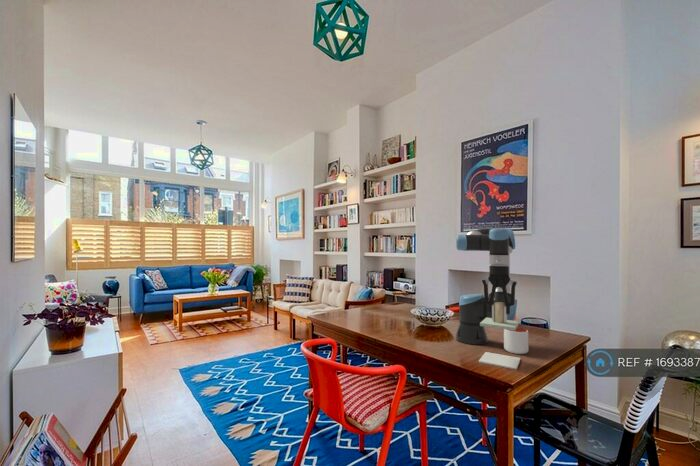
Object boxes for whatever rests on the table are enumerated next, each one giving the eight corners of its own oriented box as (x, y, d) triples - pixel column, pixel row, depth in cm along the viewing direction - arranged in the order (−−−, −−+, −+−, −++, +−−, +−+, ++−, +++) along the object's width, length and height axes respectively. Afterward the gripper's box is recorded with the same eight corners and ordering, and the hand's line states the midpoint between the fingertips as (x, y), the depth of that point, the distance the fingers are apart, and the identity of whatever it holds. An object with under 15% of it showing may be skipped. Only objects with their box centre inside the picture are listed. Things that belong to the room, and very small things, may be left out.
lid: (479, 325, 135) (479, 303, 135) (486, 320, 145) (486, 299, 146) (514, 330, 127) (514, 307, 128) (518, 324, 138) (518, 302, 139)
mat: (478, 362, 134) (478, 360, 134) (485, 353, 146) (485, 351, 146) (516, 369, 126) (516, 368, 126) (520, 359, 138) (520, 358, 138)
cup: (499, 348, 153) (499, 326, 154) (519, 347, 154) (519, 326, 155) (511, 355, 143) (511, 332, 144) (533, 354, 144) (533, 332, 145)
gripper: (475, 264, 139) (476, 320, 138) (520, 266, 130) (521, 325, 129) (479, 264, 145) (480, 317, 144) (522, 265, 136) (523, 322, 135)
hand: (499, 321), depth 136 cm, fingers closed on lid, 4 cm apart
